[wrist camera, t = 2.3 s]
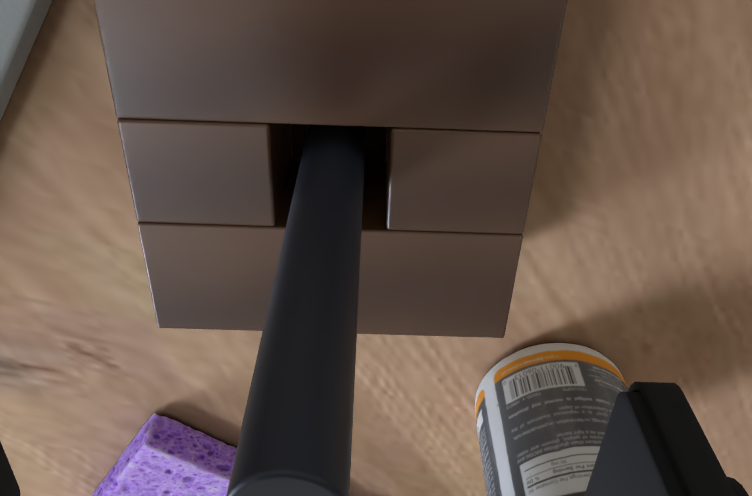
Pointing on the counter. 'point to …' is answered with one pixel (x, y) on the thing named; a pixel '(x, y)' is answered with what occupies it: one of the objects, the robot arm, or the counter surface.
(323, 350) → the peg
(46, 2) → the grey-rimmed serving tray
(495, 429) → the pill bottle
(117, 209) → the counter surface
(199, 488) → the sponge
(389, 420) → the counter surface
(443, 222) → the dock
